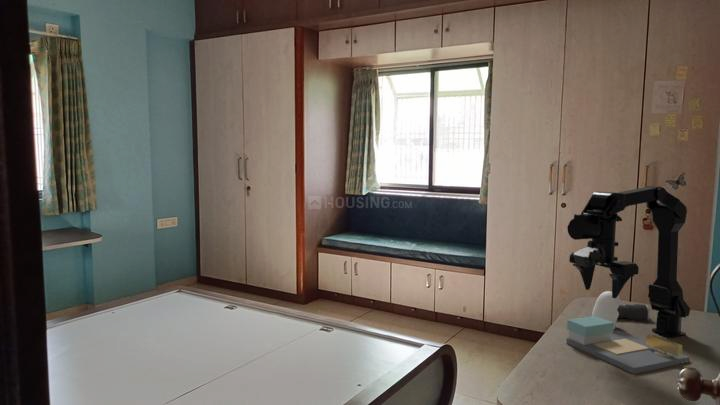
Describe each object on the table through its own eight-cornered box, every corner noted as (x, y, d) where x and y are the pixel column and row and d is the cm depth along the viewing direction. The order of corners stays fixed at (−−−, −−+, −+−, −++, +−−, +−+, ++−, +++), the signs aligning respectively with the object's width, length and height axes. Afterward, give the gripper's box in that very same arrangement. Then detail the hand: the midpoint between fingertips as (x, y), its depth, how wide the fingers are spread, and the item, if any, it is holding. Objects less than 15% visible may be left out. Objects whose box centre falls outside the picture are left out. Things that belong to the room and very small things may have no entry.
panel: (618, 334, 152) (618, 321, 152) (689, 362, 132) (690, 347, 131) (566, 343, 145) (567, 329, 144) (633, 373, 124) (634, 358, 124)
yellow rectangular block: (650, 347, 138) (651, 333, 138) (681, 359, 130) (682, 345, 129) (645, 348, 137) (646, 334, 137) (677, 360, 129) (678, 346, 129)
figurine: (617, 334, 153) (619, 295, 151) (589, 329, 157) (591, 291, 156) (619, 327, 159) (621, 290, 158) (592, 323, 163) (594, 286, 162)
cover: (594, 325, 149) (595, 315, 148) (613, 332, 142) (613, 322, 142) (567, 329, 145) (567, 319, 144) (585, 336, 139) (585, 326, 138)
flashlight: (598, 305, 164) (594, 298, 169) (596, 321, 166) (593, 313, 171) (650, 309, 161) (644, 301, 166) (648, 324, 162) (643, 317, 167)
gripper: (555, 234, 144) (553, 288, 145) (609, 244, 127) (605, 305, 128) (585, 232, 148) (583, 284, 149) (641, 242, 131) (638, 301, 132)
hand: (600, 293), depth 140 cm, fingers open, 9 cm apart
